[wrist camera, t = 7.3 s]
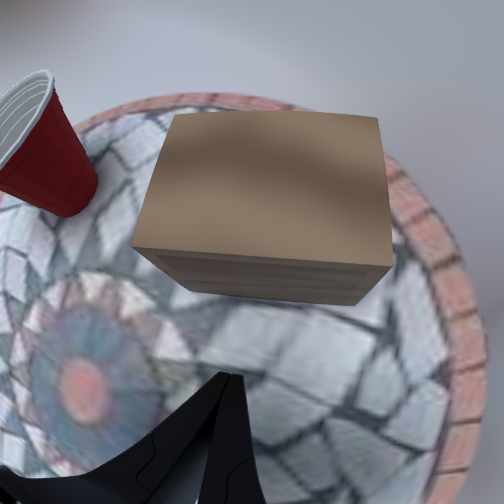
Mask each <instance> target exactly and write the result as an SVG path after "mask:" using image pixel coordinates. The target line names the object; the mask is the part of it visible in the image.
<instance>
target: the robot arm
mask: <svg viewBox="0 0 504 504" xmlns="http://www.w3.org/2000/svg"><path fill="white" fill-rule="evenodd" d="M199 492H200V495H199V499H198V504H266V501H265V498H264V495H263V492H262V489H261V485H260V482H259V478H258V473H257V468H256V462H255V457H254V449H253V442H252V435H251V427H250V420H249V413H248V405H247V398H246V390H245V383H244V376H243V375H241V374H234V373H233V374H230V373H228V372H221V371H220V372H218V373H217V374H215V375H214V376H213V377H212V378H211V379H210V380H209V381H208V382H207V383H206V384H205V385H204V386H202V387H201V388H200V389H199V390H198V391H197V392H196V393H195V394H194V395H192V396H191V397H190V398H189V399H188V400H187V401H186V402H185V403H183V404H182V405H181V406H180V407H179V408H178V409H177V410H175V411H174V412H173V413H172V414H171V415H170V416H169V417H167V418H166V419H165V420H164V421H163V422H162V423H160V424H159V425H158V426H157V427H156V428H154V429H153V430H152V431H151V433H148V434H147V435H146V436H145V437H144V438H142V439H141V440H140V441H138V442H137V443H136V444H134V445H133V446H132V447H130V448H129V449H127V450H126V451H124V452H123V453H121V454H120V455H118V456H116V457H115V458H113V459H111V460H110V461H108V462H106V463H105V464H103V465H101V466H99V467H98V468H96V469H94V470H92V471H90V472H88V473H85V474H82V475H78V476H69V477H56V478H25V477H21V476H18V475H17V474H15V473H14V472H13V471H11V470H10V469H9V468H8V467H7V466H5V465H0V504H195V502H196V499H197V497H198V494H199Z"/></svg>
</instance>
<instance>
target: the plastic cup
mask: <svg viewBox="0 0 504 504" xmlns="http://www.w3.org/2000/svg"><path fill="white" fill-rule="evenodd" d="M54 83H55V80H54V77H53V75H52V74H51V72H50V71H49V70H48V69H46V70H38V71H35V72H34V73H32V74H30V75H28V76H26V77H24V78H23V79H21V80H20V81H19V82H18V83H16V84H15V85H14V86H13V87H12V88H10V89H9V90H8V91H7V92H6V93H5V94H4V95H3V96H2V98H0V190H1V191H3V192H5V193H7V194H9V195H12V196H14V197H16V198H18V199H20V200H23V201H25V202H27V203H29V204H31V205H34V206H36V207H38V208H43V209H45V210H47V211H49V212H51V213H53V214H55V215H58V216H62V217H71V216H73V215H75V214H77V213H79V212H80V211H81V210H82V209H83V208H84V207H85V206H86V205H87V204H88V203H89V202H90V200H91V199H92V197H93V195H94V194H95V191H96V188H97V185H98V178H97V174H96V170H95V169H94V167H93V165H92V164H91V162H90V160H89V159H88V157H87V155H86V151H85V150H84V148H83V146H82V144H81V142H80V141H79V139H78V137H77V135H76V133H75V132H74V130H73V128H72V126H71V124H70V122H69V121H68V119H67V117H66V115H65V113H64V111H63V107H62V105H61V103H60V101H59V100H58V98H59V97H58V96H57V93H56V92H55V88H54Z"/></svg>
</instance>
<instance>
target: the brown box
mask: <svg viewBox="0 0 504 504" xmlns="http://www.w3.org/2000/svg"><path fill="white" fill-rule="evenodd" d="M131 247H132V248H133V249H135V250H136V251H137V252H138V253H140V254H141V255H142V256H144V257H145V258H146V259H147V260H149V261H150V262H151V263H153V264H154V265H155V266H156V267H158V268H159V269H160V270H162V271H163V272H164V273H166V274H167V275H168V276H170V277H171V278H172V279H174V280H175V281H176V282H178V283H179V284H180V285H182V286H183V287H184V288H186V289H187V290H189V291H196V292H204V293H213V294H222V295H231V296H241V297H251V298H261V299H272V300H283V301H295V302H307V303H321V304H335V305H351V306H355V305H356V304H357V303H358V302H359V301H360V300H361V299H362V298H363V297H364V296H365V295H366V294H367V293H368V292H369V291H370V290H371V289H372V288H373V287H374V286H375V285H376V284H377V283H378V282H379V281H380V280H381V279H382V278H383V276H384V275H385V274H386V273H387V272H388V271H389V270H390V269H391V268H392V267H393V249H392V230H391V216H390V204H389V194H388V184H387V176H386V168H385V161H384V154H383V147H382V141H381V135H380V130H379V124H378V119H377V118H374V117H366V116H357V115H347V114H335V113H322V112H304V111H222V112H204V113H190V114H179V115H174V118H173V120H172V123H171V125H170V128H169V130H168V133H167V135H166V138H165V141H164V143H163V146H162V149H161V151H160V154H159V157H158V160H157V163H156V165H155V168H154V171H153V174H152V177H151V180H150V183H149V186H148V189H147V192H146V195H145V199H144V202H143V205H142V208H141V212H140V215H139V219H138V222H137V225H136V229H135V233H134V236H133V240H132V244H131Z"/></svg>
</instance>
